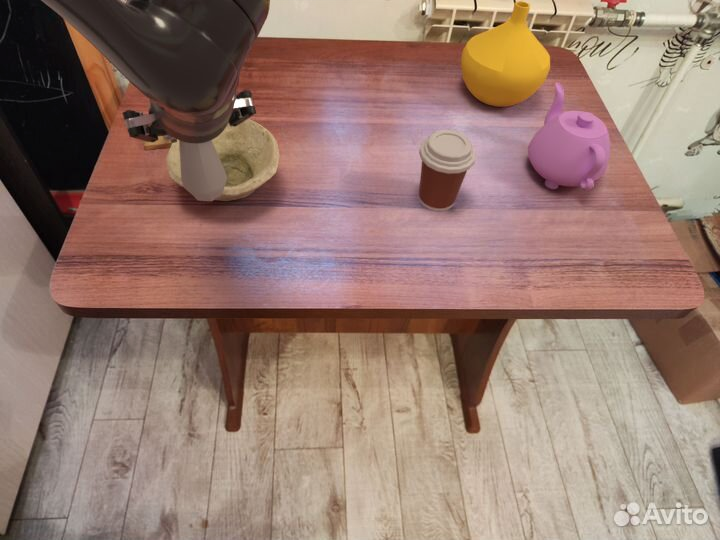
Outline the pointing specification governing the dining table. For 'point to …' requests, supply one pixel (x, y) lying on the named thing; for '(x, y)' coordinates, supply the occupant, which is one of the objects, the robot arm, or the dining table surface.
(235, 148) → the bowl
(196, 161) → the salt shaker
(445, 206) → the coffee cup
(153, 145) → the wooden square board
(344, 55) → the dining table surface
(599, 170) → the teapot
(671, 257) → the dining table surface
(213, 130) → the robot arm
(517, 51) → the vase
